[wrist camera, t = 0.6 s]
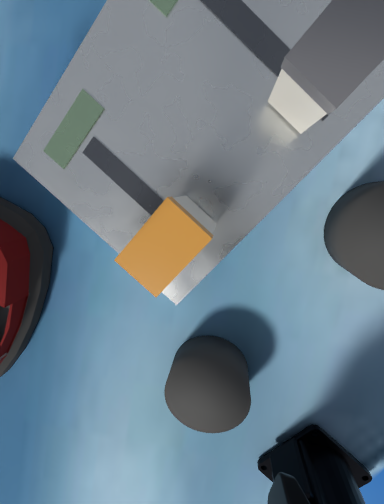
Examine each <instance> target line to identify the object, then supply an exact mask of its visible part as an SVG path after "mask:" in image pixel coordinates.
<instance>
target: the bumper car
mask: <svg viewBox="0 0 384 504" xmlns="http://www.w3.org/2000/svg"><path fill="white" fill-rule="evenodd" d="M52 253H53V247H52V244H51V242H50V239H49V237H48V234H47V231H46V229H45V227H44V226H43V225H42V224H41V223H40V222H39V221H38V220H37V219H36V218H35V217H34V216H33V215H32V214H31V213H29V212H27V211H25V210H23V209H22V208H20V207H18V206H16V205H14V204H12V203H11V202H9V201H7V200H5V199H3V198H1V197H0V377H1V376H2V375H3V374H5V373H6V372H7V371H8V370H9V369H10V368H11V367H12V365H13V364H14V363H15V361H16V360H17V359H18V357H19V356H20V354H21V353H22V352H23V350H24V349H25V348H26V345H27V343H28V341H29V339H30V337H31V335H32V333H33V331H34V328H35V326H36V324H37V322H38V320H39V317H40V314H41V310H42V307H43V303H44V300H45V297H46V293H47V290H48V286H49V280H50V271H51V262H52Z"/></svg>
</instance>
